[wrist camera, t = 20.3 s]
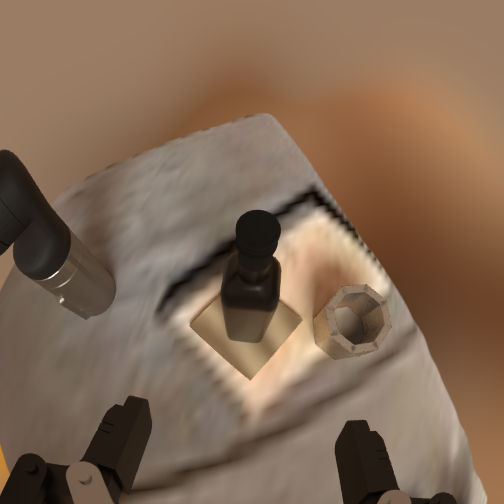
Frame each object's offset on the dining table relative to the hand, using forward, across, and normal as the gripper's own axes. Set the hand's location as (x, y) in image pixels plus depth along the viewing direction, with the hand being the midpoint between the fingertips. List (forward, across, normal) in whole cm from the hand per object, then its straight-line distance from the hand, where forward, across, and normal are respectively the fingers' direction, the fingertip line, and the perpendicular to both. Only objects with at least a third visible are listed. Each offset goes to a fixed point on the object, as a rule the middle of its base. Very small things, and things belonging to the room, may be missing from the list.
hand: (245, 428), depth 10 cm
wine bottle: (+33, 0, +16) cm, 37 cm away
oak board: (+34, 0, +17) cm, 38 cm away
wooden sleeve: (+34, -16, +16) cm, 41 cm away
